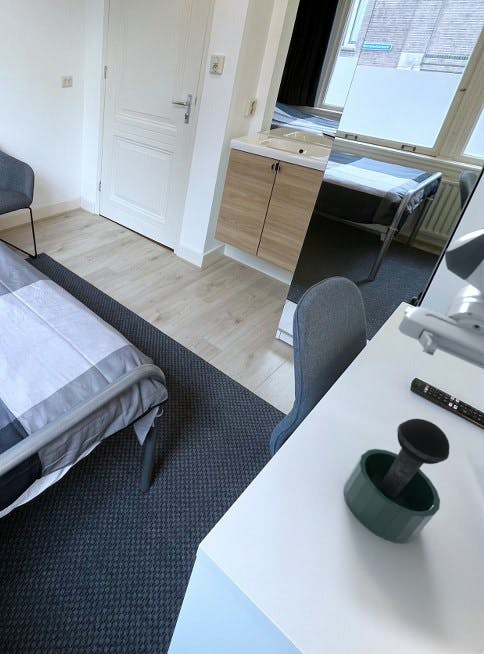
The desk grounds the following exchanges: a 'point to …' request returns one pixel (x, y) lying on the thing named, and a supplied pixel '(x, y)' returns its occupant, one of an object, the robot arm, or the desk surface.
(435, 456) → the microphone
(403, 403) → the desk surface
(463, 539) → the desk surface
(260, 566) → the desk surface
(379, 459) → the tin
